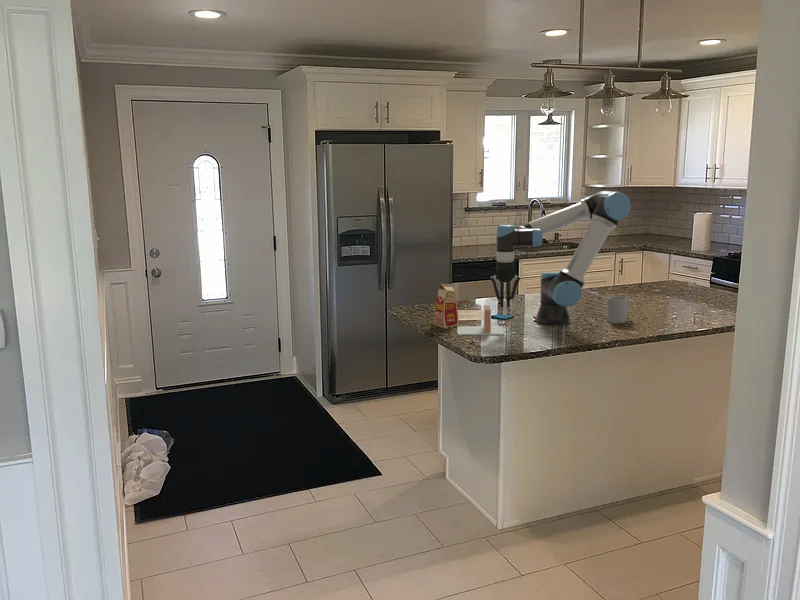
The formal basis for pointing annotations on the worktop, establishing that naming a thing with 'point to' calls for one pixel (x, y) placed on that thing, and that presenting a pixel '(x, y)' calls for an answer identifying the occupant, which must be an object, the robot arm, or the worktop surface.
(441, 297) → the milk carton
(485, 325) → the tile
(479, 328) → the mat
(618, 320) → the mug
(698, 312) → the worktop surface
